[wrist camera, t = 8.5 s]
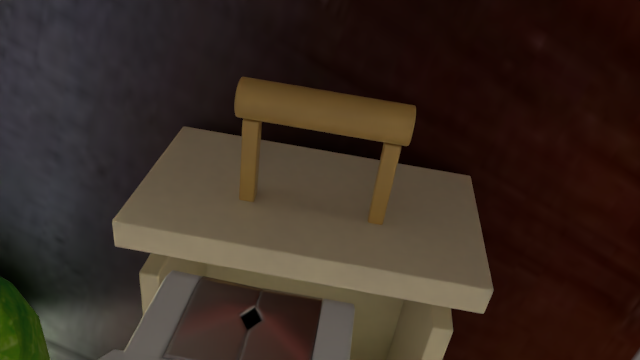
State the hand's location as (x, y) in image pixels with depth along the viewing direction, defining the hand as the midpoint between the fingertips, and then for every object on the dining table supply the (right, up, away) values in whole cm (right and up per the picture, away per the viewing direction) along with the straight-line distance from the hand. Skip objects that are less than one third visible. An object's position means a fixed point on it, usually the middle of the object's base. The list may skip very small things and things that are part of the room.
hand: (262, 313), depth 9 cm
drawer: (+1, 0, +18) cm, 18 cm away
